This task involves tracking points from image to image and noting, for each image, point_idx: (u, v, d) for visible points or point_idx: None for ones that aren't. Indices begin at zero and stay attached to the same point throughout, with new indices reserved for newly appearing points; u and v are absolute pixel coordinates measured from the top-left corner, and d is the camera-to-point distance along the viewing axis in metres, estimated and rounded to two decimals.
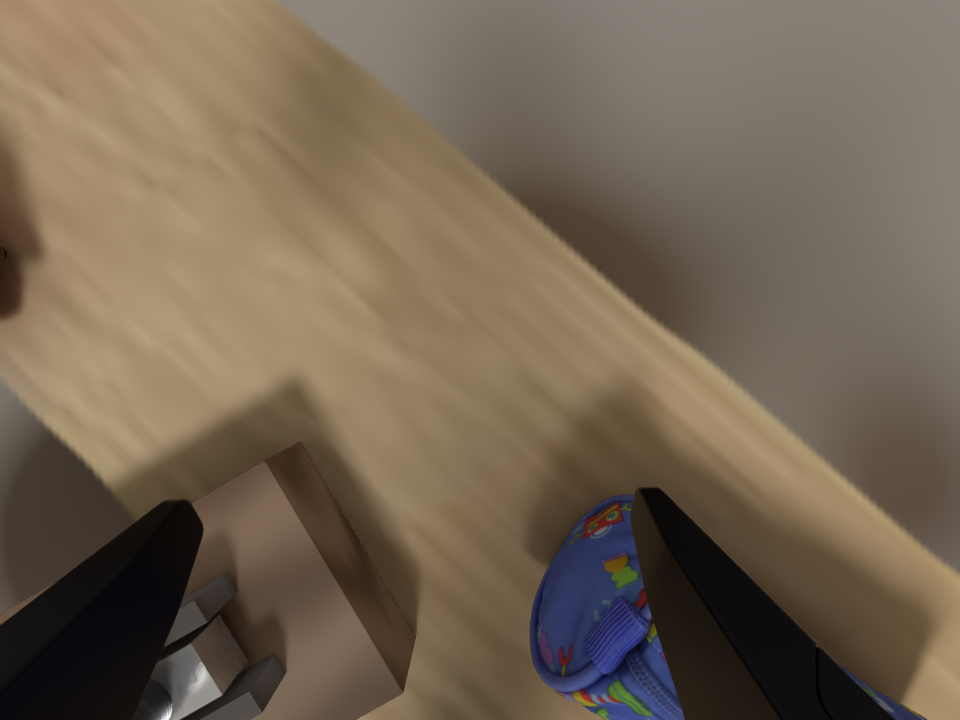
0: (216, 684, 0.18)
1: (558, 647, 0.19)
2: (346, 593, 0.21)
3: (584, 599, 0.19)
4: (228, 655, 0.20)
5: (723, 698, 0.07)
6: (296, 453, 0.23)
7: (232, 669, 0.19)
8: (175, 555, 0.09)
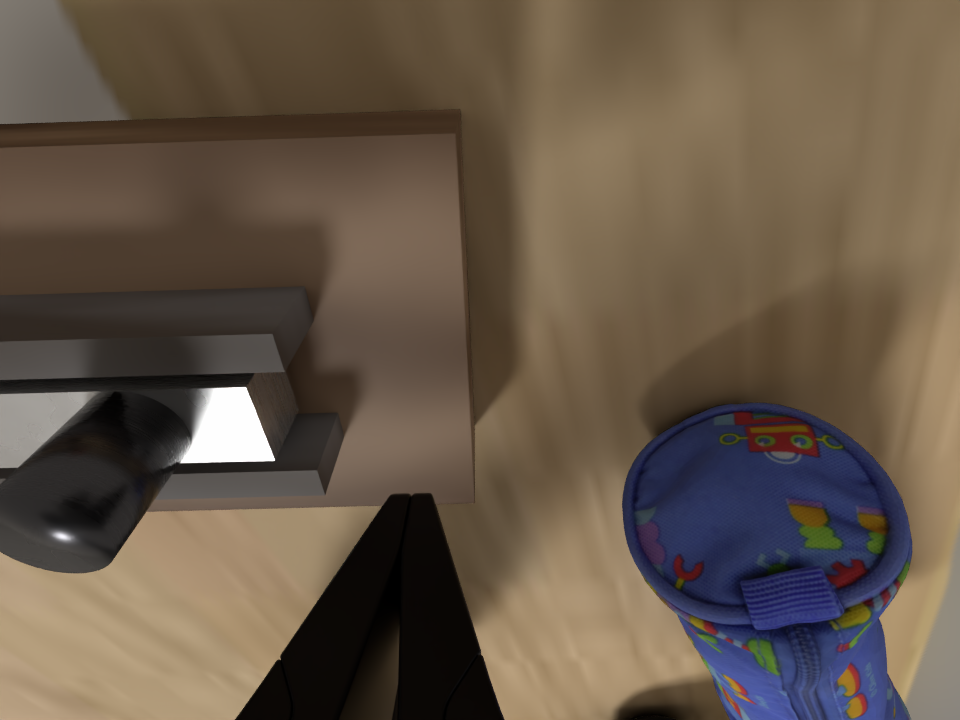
0: (268, 445, 0.12)
1: (676, 553, 0.16)
2: (468, 387, 0.14)
3: (743, 530, 0.15)
4: (282, 402, 0.13)
5: None
6: None
7: (285, 423, 0.13)
8: None
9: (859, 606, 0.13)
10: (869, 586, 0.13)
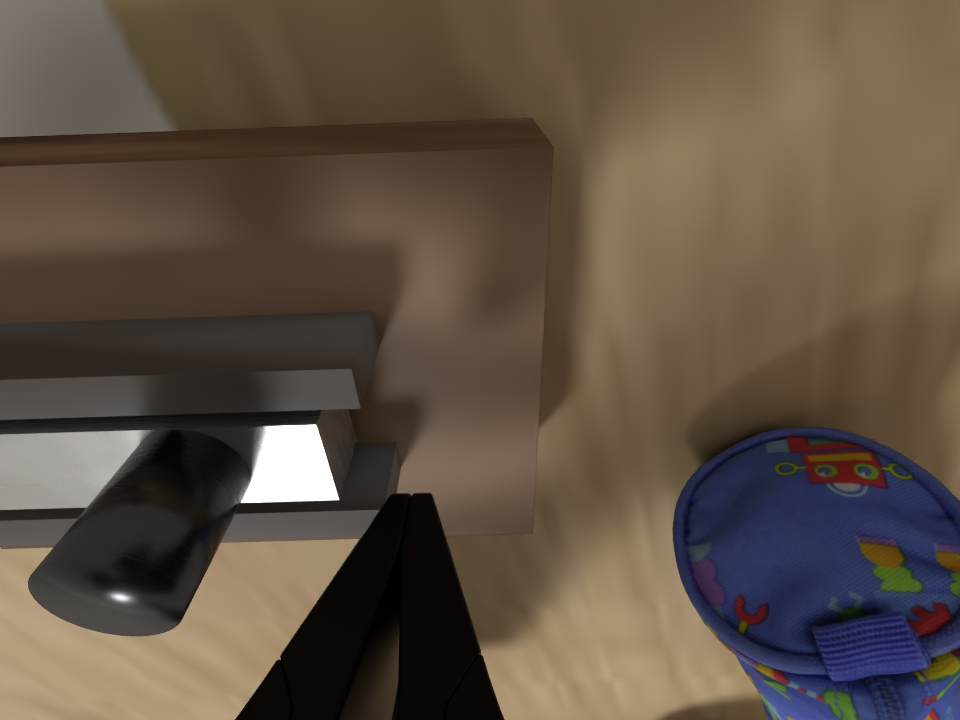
0: (333, 483, 0.11)
1: (737, 594, 0.15)
2: (538, 415, 0.13)
3: (810, 570, 0.14)
4: (344, 435, 0.12)
5: None
6: None
7: (346, 457, 0.12)
8: None
9: (947, 656, 0.12)
10: (957, 634, 0.12)
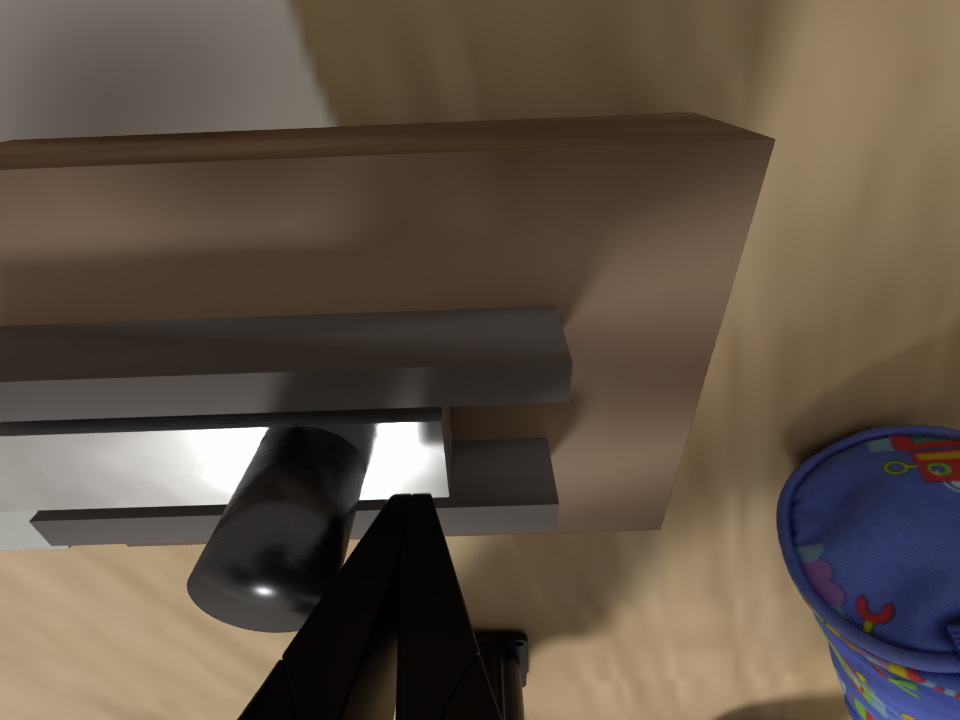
0: (445, 480, 0.11)
1: (857, 594, 0.15)
2: (691, 410, 0.13)
3: (937, 569, 0.14)
4: (448, 432, 0.12)
5: None
6: None
7: (450, 454, 0.12)
8: None
9: None
10: None
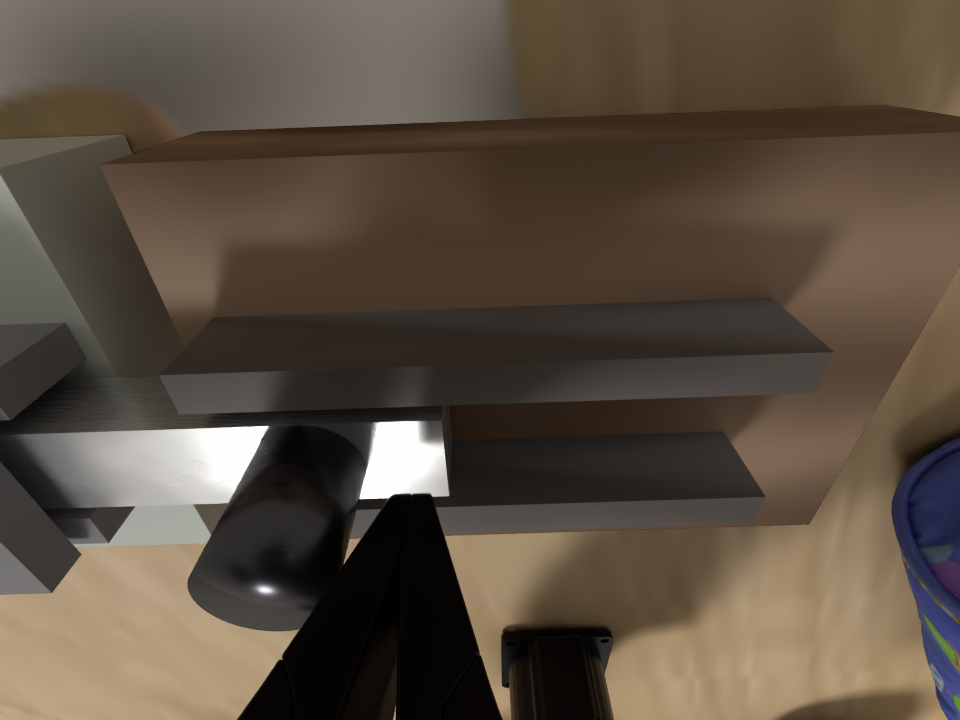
0: (445, 479, 0.11)
1: None
2: (871, 404, 0.13)
3: None
4: (449, 432, 0.12)
5: None
6: None
7: (450, 453, 0.12)
8: None
9: None
10: None
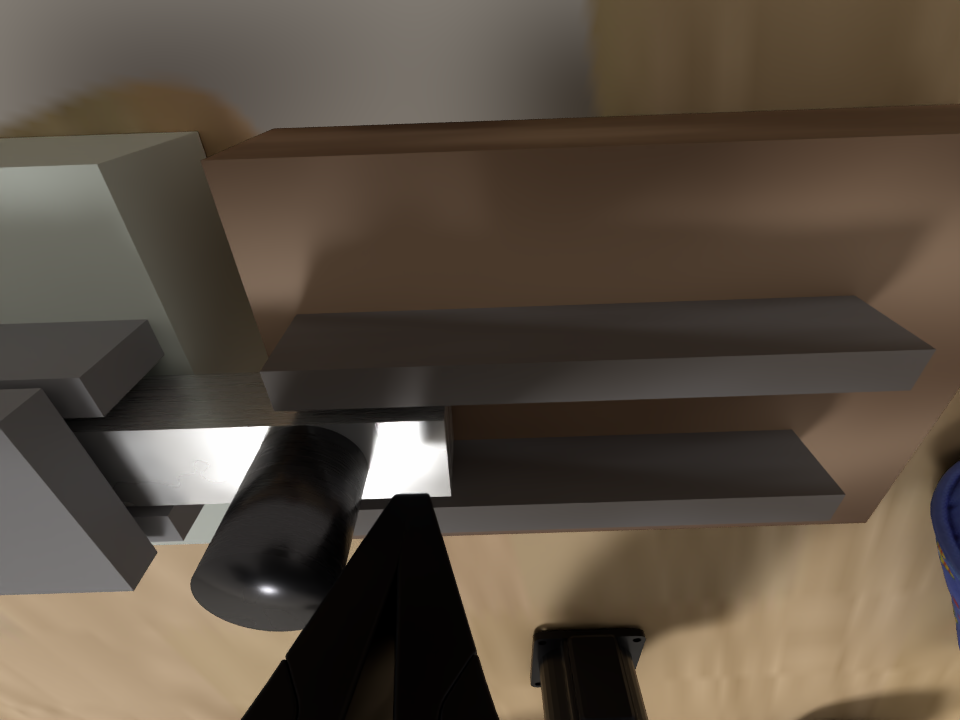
0: None
1: None
2: (940, 402, 0.13)
3: None
4: (450, 432, 0.12)
5: None
6: None
7: (452, 454, 0.12)
8: None
9: None
10: None
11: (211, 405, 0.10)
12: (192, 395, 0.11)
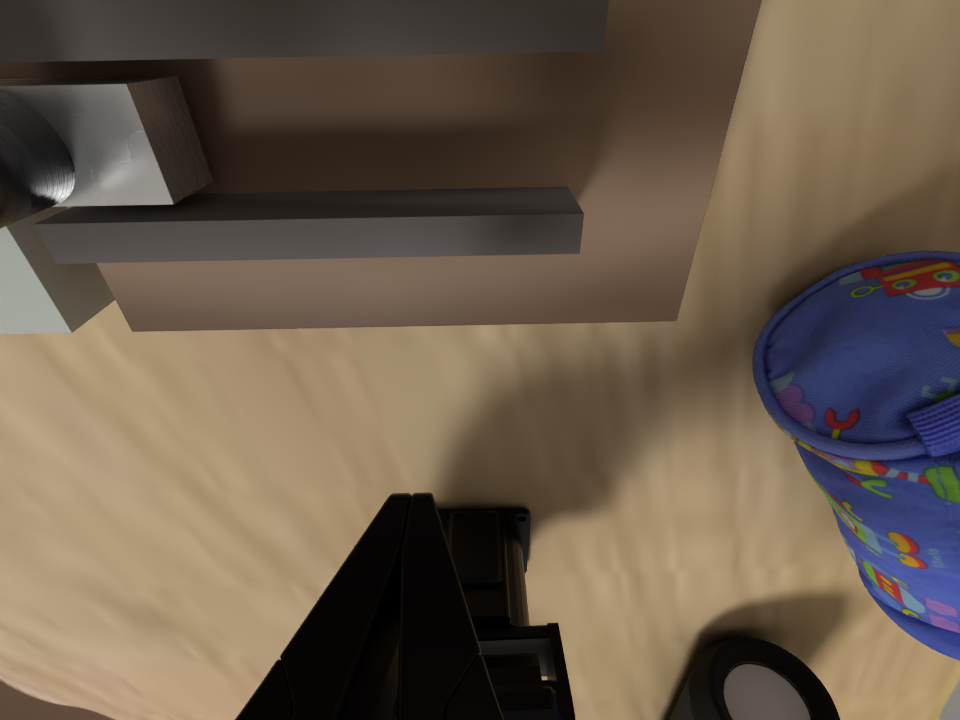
0: (165, 182, 0.11)
1: (826, 407, 0.16)
2: (716, 156, 0.13)
3: (899, 368, 0.15)
4: (187, 151, 0.11)
5: None
6: None
7: (191, 177, 0.11)
8: None
9: None
10: None
11: None
12: None
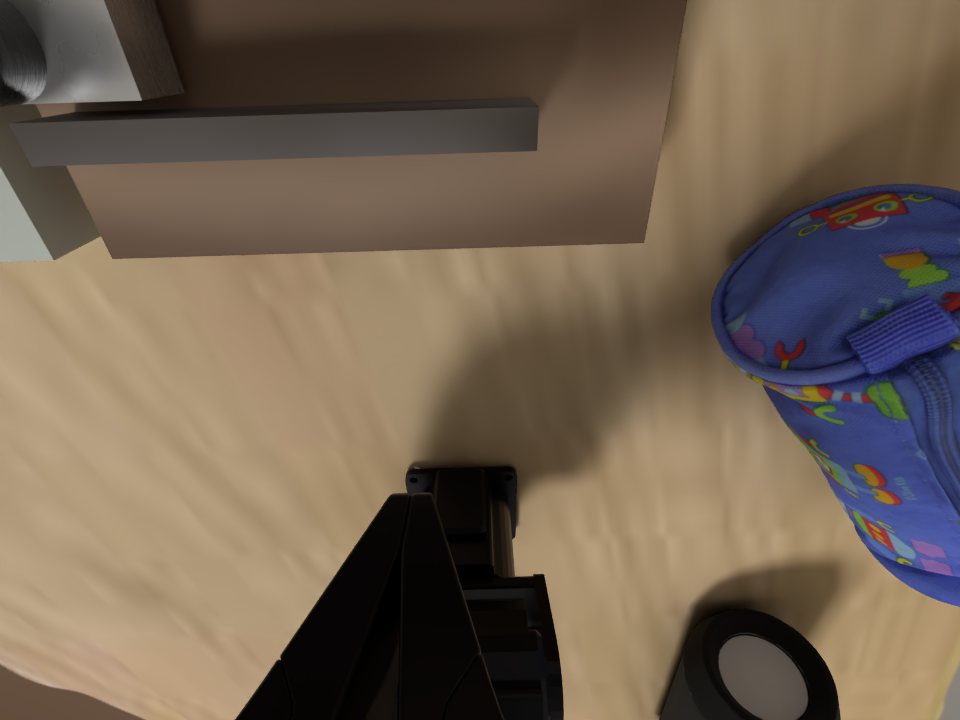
0: (133, 78, 0.11)
1: (775, 341, 0.16)
2: (673, 64, 0.13)
3: (840, 296, 0.15)
4: (157, 55, 0.12)
5: None
6: None
7: (161, 81, 0.12)
8: None
9: None
10: None
11: None
12: None
